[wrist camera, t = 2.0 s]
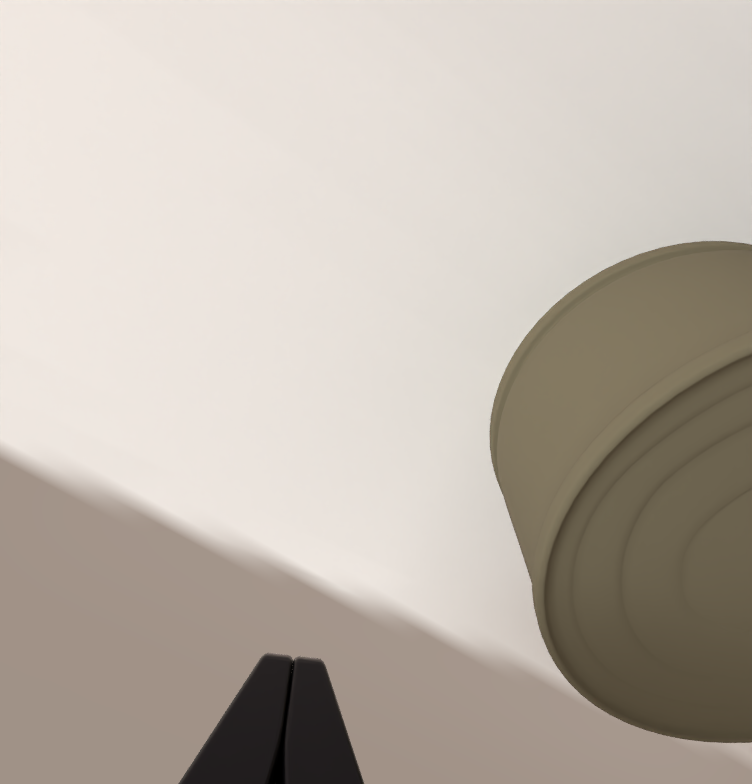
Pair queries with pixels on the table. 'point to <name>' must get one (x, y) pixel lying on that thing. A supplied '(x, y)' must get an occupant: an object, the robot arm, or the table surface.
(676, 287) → the can
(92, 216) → the table surface
